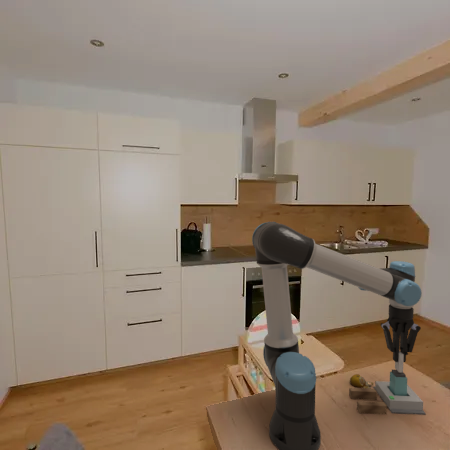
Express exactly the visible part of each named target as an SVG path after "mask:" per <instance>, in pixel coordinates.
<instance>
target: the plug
mask: <svg viewBox="0 0 450 450" xmlns="http://www.w3.org/2000/svg"><path fill="white" fill-rule="evenodd" d="M389 382H390V384H389V390H390V391H391V392H392V394H393V395H394V396H407V385H408V377H407V376H406V374H405V372H404V371H403V372H398V371H397V370H396V369H391V371H389Z"/></svg>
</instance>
